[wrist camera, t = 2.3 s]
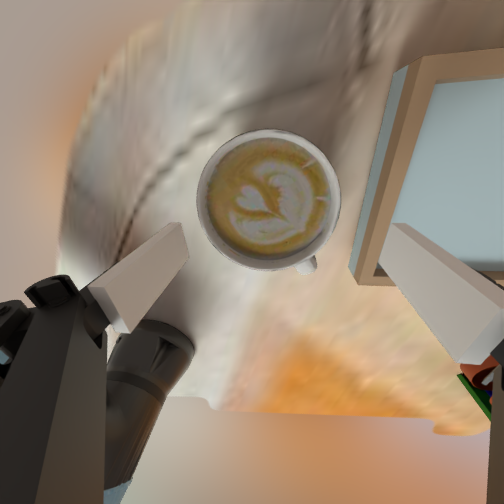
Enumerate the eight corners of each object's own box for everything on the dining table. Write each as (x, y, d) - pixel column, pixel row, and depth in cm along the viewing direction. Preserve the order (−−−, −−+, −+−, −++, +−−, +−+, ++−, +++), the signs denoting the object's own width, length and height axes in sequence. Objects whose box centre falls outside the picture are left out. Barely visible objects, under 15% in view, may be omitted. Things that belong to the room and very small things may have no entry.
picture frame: (343, 258, 25) (358, 285, 21) (381, 79, 17) (422, 55, 12) (501, 261, 23) (558, 292, 18) (644, 55, 14) (826, 13, 10)
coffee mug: (213, 157, 21) (168, 168, 13) (302, 115, 18) (324, 93, 10) (256, 256, 27) (246, 310, 18) (330, 235, 24) (358, 288, 16)
